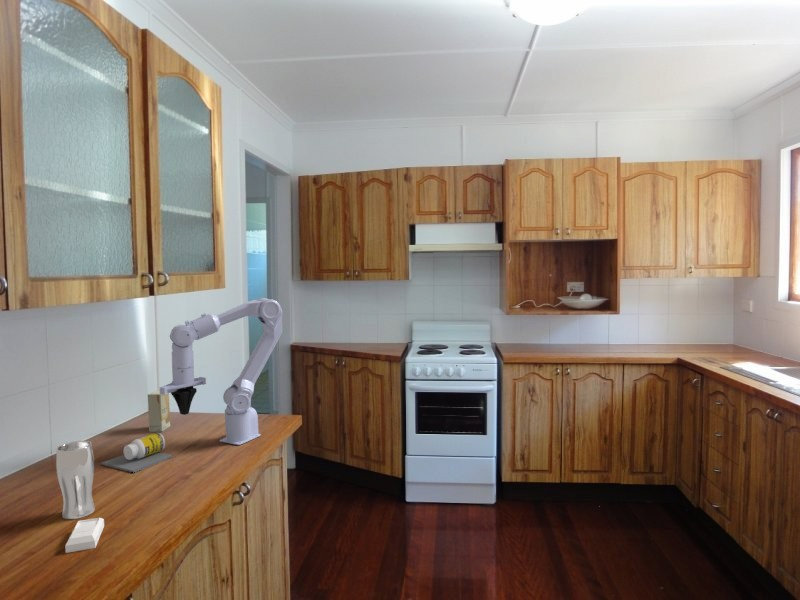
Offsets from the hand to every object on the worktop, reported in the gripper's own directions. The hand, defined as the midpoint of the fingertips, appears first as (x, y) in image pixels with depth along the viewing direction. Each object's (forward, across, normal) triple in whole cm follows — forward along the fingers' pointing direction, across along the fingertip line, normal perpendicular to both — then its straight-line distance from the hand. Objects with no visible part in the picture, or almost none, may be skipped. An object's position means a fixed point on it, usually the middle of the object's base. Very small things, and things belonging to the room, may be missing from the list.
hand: (184, 413), depth 154 cm
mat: (+11, +12, -5) cm, 17 cm away
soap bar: (+12, +44, +22) cm, 50 cm away
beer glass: (+11, +38, +10) cm, 40 cm away
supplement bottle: (+7, +5, -5) cm, 10 cm away
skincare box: (+11, -10, -23) cm, 27 cm away
